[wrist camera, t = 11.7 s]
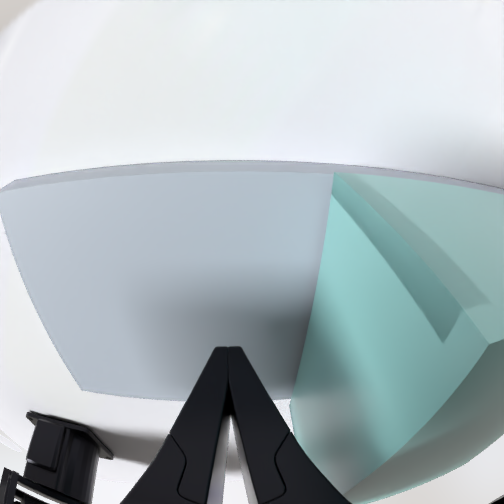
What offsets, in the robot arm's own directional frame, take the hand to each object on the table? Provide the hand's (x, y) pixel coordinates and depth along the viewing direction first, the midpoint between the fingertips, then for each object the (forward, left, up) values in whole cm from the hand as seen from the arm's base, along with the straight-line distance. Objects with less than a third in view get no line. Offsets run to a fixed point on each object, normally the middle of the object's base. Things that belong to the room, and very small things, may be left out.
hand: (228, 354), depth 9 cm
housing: (0, -7, -1) cm, 7 cm away
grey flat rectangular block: (0, -5, -3) cm, 5 cm away
